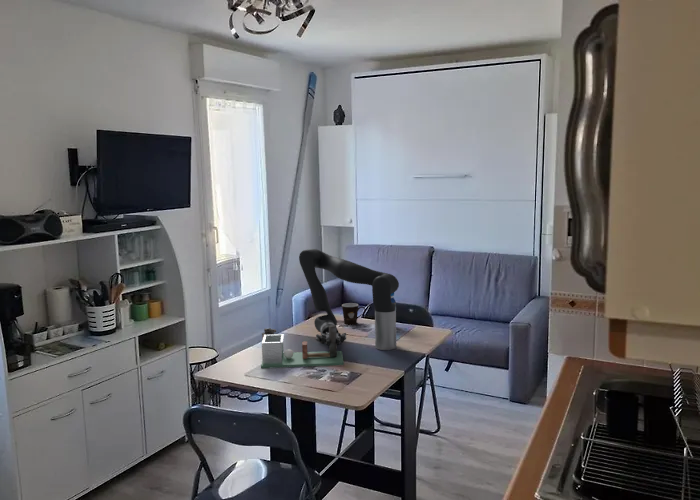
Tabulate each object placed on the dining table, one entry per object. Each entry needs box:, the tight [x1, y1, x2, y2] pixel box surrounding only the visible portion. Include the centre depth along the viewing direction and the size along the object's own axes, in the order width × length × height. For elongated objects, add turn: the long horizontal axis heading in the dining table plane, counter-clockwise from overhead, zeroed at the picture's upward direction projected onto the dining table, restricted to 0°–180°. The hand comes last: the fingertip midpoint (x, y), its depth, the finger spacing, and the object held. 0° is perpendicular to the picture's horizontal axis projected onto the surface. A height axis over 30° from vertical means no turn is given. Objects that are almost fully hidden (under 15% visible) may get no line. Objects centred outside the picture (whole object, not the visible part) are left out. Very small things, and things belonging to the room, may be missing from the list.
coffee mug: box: [341, 302, 366, 326], centre depth 303 cm, size 12×9×10 cm
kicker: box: [301, 325, 338, 359], centre depth 246 cm, size 15×5×13 cm, turn 93°
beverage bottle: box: [391, 292, 397, 326], centre depth 293 cm, size 8×8×20 cm
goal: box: [261, 333, 285, 364], centre depth 245 cm, size 8×12×9 cm
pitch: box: [260, 350, 345, 369], centre depth 247 cm, size 34×16×1 cm, turn 93°
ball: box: [284, 348, 294, 359], centre depth 246 cm, size 4×4×4 cm
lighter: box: [261, 327, 277, 339], centre depth 261 cm, size 8×3×10 cm, turn 62°
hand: (333, 343), depth 244 cm, fingers closed on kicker, 3 cm apart
